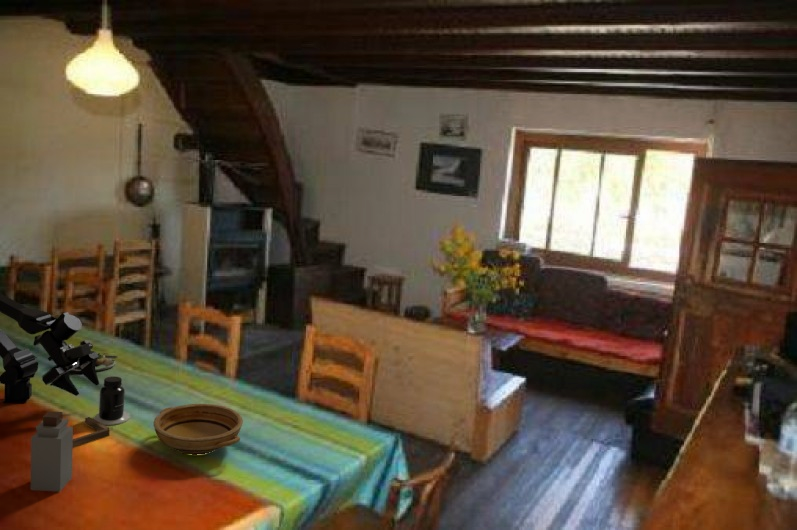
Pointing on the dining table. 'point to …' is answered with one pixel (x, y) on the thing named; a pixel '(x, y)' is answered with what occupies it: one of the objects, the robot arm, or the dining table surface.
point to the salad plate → (99, 363)
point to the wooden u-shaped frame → (101, 433)
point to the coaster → (123, 419)
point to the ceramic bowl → (198, 427)
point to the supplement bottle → (111, 399)
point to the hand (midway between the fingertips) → (88, 389)
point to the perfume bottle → (51, 453)
